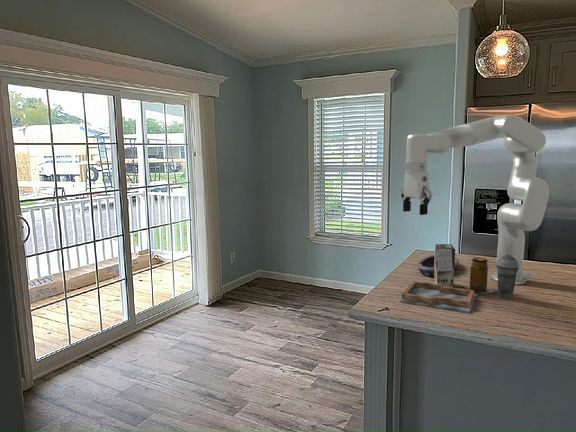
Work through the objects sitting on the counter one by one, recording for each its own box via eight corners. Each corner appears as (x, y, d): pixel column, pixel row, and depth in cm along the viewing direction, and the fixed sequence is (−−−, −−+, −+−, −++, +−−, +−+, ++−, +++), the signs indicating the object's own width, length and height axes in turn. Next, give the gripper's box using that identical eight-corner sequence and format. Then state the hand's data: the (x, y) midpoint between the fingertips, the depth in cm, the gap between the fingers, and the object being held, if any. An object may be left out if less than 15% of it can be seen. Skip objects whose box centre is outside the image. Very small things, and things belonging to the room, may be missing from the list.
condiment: (477, 285, 170) (478, 255, 168) (495, 291, 163) (497, 260, 161) (463, 288, 167) (465, 258, 165) (482, 294, 160) (484, 263, 158)
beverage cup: (507, 302, 151) (511, 246, 148) (489, 295, 158) (492, 242, 155) (520, 298, 155) (525, 244, 152) (502, 292, 161) (506, 240, 158)
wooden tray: (476, 296, 158) (476, 288, 157) (469, 313, 141) (469, 305, 141) (412, 286, 169) (413, 280, 169) (399, 301, 153) (399, 294, 152)
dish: (407, 274, 187) (407, 263, 186) (434, 260, 210) (434, 250, 209) (443, 281, 177) (443, 269, 176) (467, 265, 200) (467, 254, 199)
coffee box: (453, 290, 165) (455, 249, 162) (436, 289, 166) (437, 248, 163) (449, 283, 173) (451, 243, 171) (433, 282, 175) (434, 243, 172)
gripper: (440, 168, 155) (438, 215, 157) (409, 166, 170) (408, 209, 173) (423, 168, 152) (421, 216, 154) (394, 167, 168) (392, 210, 170)
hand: (414, 212), depth 164 cm, fingers open, 9 cm apart
